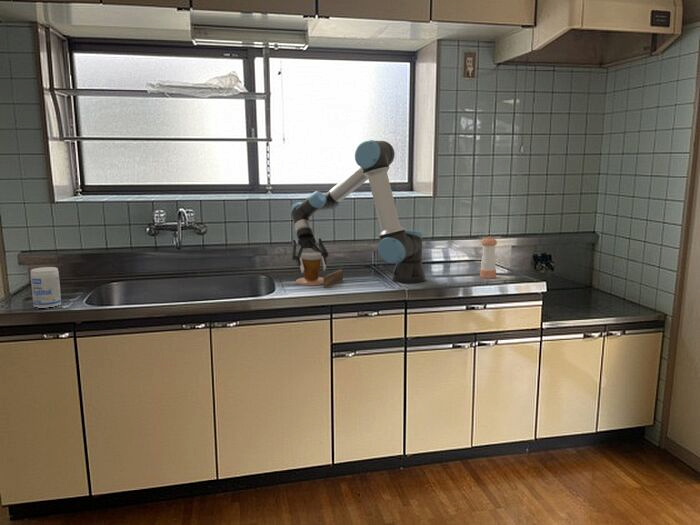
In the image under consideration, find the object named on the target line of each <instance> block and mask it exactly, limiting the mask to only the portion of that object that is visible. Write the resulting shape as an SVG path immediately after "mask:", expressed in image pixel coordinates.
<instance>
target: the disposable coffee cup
mask: <svg viewBox="0 0 700 525" xmlns="http://www.w3.org/2000/svg"><path fill="white" fill-rule="evenodd" d="M321 257H322V255H321V253H320V252H316V251H314V250H309V251H308V250H307V251H302V253H301V256H300V258H302V262H303V266H304V272H303V278H304V279H306V280H317V279H318V277H320V276H319V274H320V268H321Z"/></svg>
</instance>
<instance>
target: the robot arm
mask: <svg viewBox="0 0 700 525" xmlns="http://www.w3.org/2000/svg"><path fill="white" fill-rule="evenodd" d="M395 156H396V154H395V148H394V147H393V145H392V144H391V143H390V142H388V141H385V140H375V139H373V140H372V139H369V140H364V141H362V142H361V143H359V144H358V145H357V147H356V149H355V150H354V160H355V162H356V164H357V165H358V166H357V167H356V168H355V169H353V170H352V171H351V172H350V173H349V174H347V175H346V176H344V178H342V179H341V180H340V181H339V182H338V183H337V184H335V185H334V186H333V187H332V188H330V189H329V190H328V191H327V192H326V193H322V192H321V191H318V190H315V191H314V192H312V193H311V194H310V195H309V196H308V197H307V198H306V199H305V200H304V201H303V202H300V201H298V202H296V203H293V204H292V206H291V208H290V211H291V216H292V220H293V225H294V229H295V233H296V238H297V240H295V239H292V243H291V245H292V256H291V258H292V259H291V260H292V261H295V262H296V264H297V266H298V267H299V268H300V271H301V273H302V274H304V266H303V261H302V257H301V255H302V253H303V252H304V251H303V250H304V249H305V250H306V249H311V251H316V252H320V253H321V255H322V257H321V262H320V265H321V267H322V271H323V272H326V269H327V266H326V264H327V258H328V256H329V252H328V251H327V249H326V247H325V245H324V244H323V241H322V238H318V239H316V238H315V236H314V233H313V228H312V225H311V222H310V221H311V220H310V218H311V217H312V216H313V215H314V214H315V213H316V212H320V211H325V210H326V211H327V210H333V209H336V208H338V206H340V203H341V201H343V200H344V199H345V198H347V197H348V196H349V195H350V194H352V193H353V192H354V191H355V190H357V189H358V188H360V187H361V186H362V185H363V184H364V183H366V182H367V181H368V184H369V187H370V191H371V195H372V199H373V202H374V207H375V212H376V215H377V216H376V217H377V220H378V223H379V227H380V233H379V235H378V238H379V243H378V245H377V246H378V247H377V252H378V255H379V257H380V258H381V260H383V261H384V262H386V263H388V264H395V266H394V269H393V272H392V281H394V282H397V281H398V283H403V282H404V283H405V284H407V283H408V284H414V283H422V282H425V280H426V272H425V270H424V266H423V263H422V261H423V256H422V255H423V232H422V231H421V230H420V231H419V230H408V229H406V228H404V227H403V226H401V224H400V219H399V215H398V212H397V207H396V204H395V200H394V195H393V191H392V187H391V183H390V178H389V174H388V171H389V169H390V165H391V164H392V163H393V162H394V160H395ZM297 245H299V246H300V249H299V251H298V254H297Z"/></svg>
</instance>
